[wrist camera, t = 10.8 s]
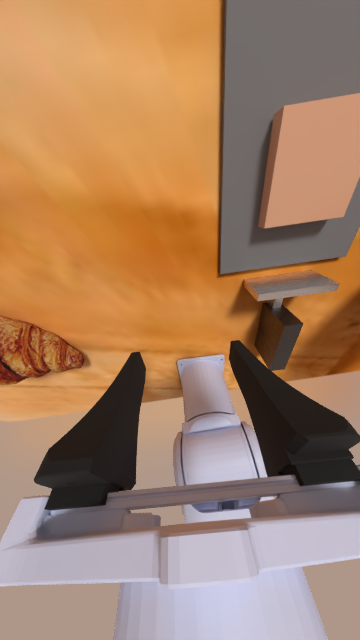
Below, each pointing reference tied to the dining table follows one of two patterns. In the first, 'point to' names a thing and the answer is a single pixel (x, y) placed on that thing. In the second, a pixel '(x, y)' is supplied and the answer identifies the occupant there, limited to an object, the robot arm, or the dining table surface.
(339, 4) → the mat
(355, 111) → the tile
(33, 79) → the dining table surface
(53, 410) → the dining table surface
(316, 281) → the turner
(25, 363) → the croissant
